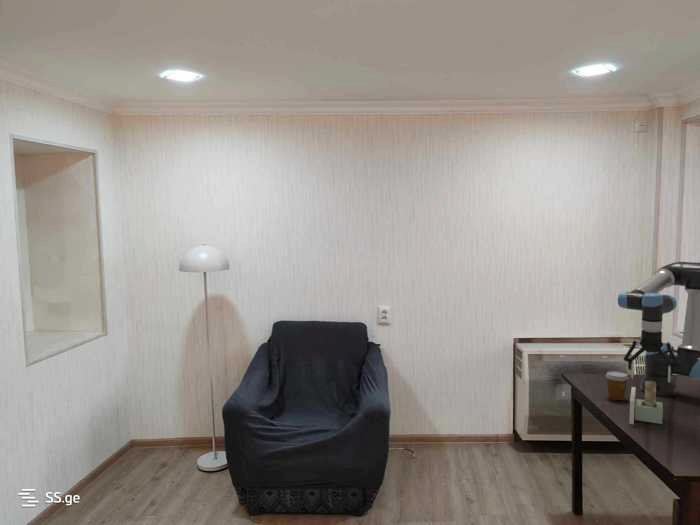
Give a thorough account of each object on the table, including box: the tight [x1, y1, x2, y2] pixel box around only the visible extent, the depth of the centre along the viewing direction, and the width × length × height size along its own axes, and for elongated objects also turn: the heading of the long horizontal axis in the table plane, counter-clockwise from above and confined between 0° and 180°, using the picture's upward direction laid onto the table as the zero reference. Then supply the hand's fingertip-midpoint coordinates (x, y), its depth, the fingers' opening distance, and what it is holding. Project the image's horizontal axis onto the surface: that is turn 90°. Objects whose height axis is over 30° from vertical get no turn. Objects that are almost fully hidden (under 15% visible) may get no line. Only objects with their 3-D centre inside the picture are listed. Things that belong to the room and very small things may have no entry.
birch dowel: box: [644, 381, 657, 407], centre depth 223 cm, size 4×4×16 cm
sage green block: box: [634, 398, 664, 425], centre depth 224 cm, size 10×10×6 cm
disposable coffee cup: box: [605, 370, 629, 401], centre depth 249 cm, size 10×10×12 cm
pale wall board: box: [628, 386, 637, 425], centre depth 227 cm, size 2×20×10 cm, turn 150°
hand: (650, 379), depth 223 cm, fingers open, 13 cm apart
